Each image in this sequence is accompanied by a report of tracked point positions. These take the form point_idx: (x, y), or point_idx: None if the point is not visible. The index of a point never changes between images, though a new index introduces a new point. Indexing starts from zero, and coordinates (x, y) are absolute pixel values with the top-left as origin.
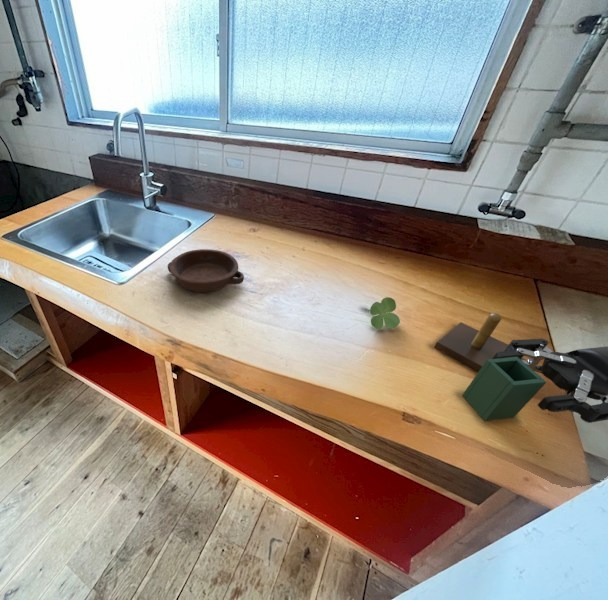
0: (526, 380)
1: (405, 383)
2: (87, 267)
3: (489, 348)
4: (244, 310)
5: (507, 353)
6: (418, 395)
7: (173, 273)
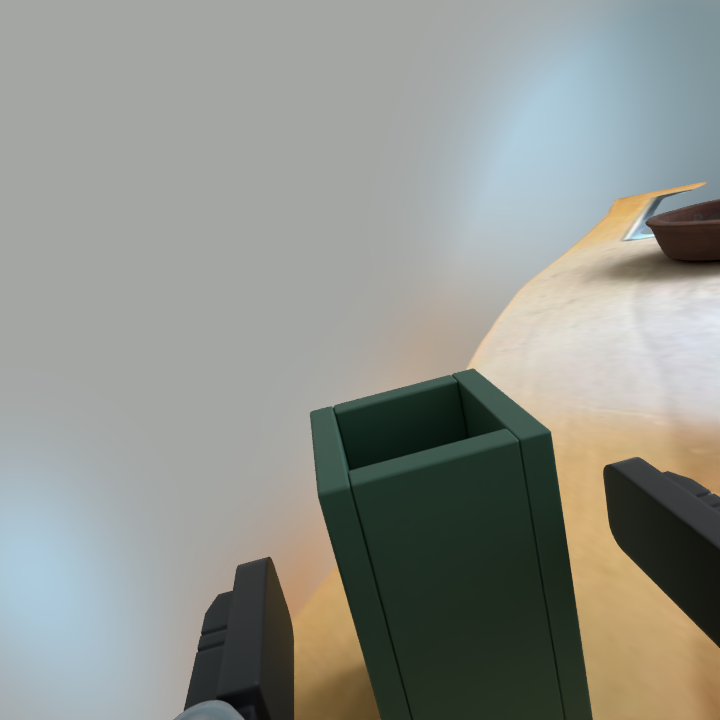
0: (335, 437)
1: None
2: None
3: None
4: (663, 292)
5: (672, 487)
6: None
7: (659, 214)
